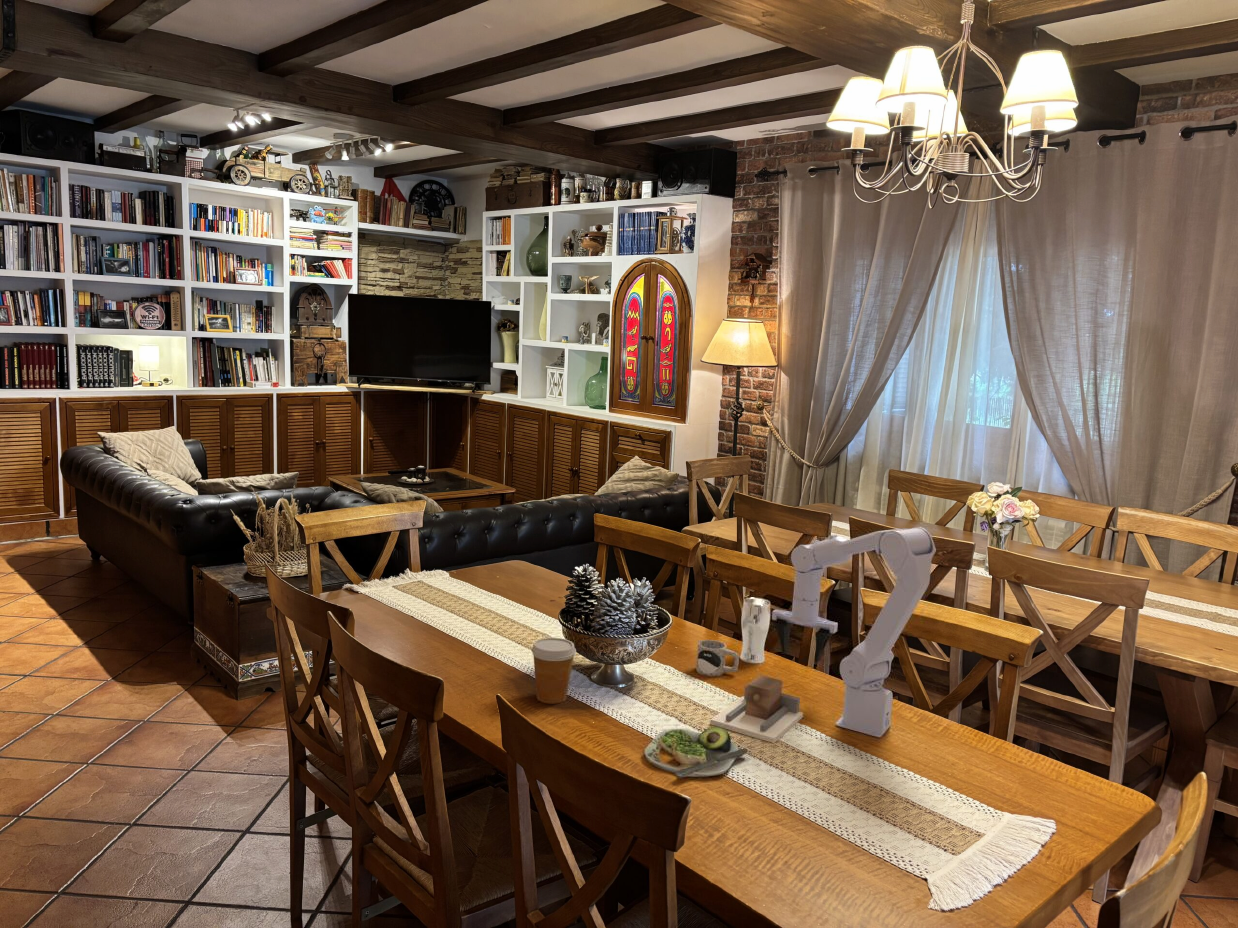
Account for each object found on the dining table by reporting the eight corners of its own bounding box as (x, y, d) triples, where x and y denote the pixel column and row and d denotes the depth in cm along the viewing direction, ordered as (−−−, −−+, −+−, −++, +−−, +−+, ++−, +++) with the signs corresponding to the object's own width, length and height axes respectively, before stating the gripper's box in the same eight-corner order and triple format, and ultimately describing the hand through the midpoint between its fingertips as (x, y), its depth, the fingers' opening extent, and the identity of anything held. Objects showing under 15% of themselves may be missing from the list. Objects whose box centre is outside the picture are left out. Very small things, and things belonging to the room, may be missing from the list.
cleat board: (802, 717, 193) (804, 699, 193) (773, 743, 180) (775, 723, 179) (742, 700, 201) (743, 682, 200) (710, 723, 187) (711, 705, 186)
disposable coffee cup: (522, 692, 198) (524, 639, 196) (562, 687, 202) (565, 635, 200) (539, 709, 189) (542, 654, 188) (580, 703, 194) (583, 649, 192)
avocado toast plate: (721, 796, 158) (723, 771, 158) (627, 771, 165) (628, 747, 165) (752, 753, 176) (754, 730, 175) (666, 732, 183) (667, 710, 182)
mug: (693, 673, 215) (695, 646, 214) (699, 664, 222) (701, 638, 221) (734, 680, 212) (736, 653, 211) (740, 671, 218) (742, 644, 218)
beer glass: (734, 660, 226) (738, 601, 224) (743, 652, 232) (748, 595, 230) (761, 666, 223) (766, 607, 220) (770, 658, 229) (775, 600, 227)
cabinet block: (780, 709, 194) (782, 680, 193) (765, 721, 187) (768, 691, 186) (758, 703, 197) (760, 674, 196) (743, 715, 190) (745, 685, 189)
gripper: (768, 594, 202) (763, 653, 203) (832, 608, 194) (826, 669, 196) (780, 588, 208) (775, 645, 209) (842, 601, 200) (837, 660, 202)
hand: (801, 656), depth 203 cm, fingers open, 7 cm apart
